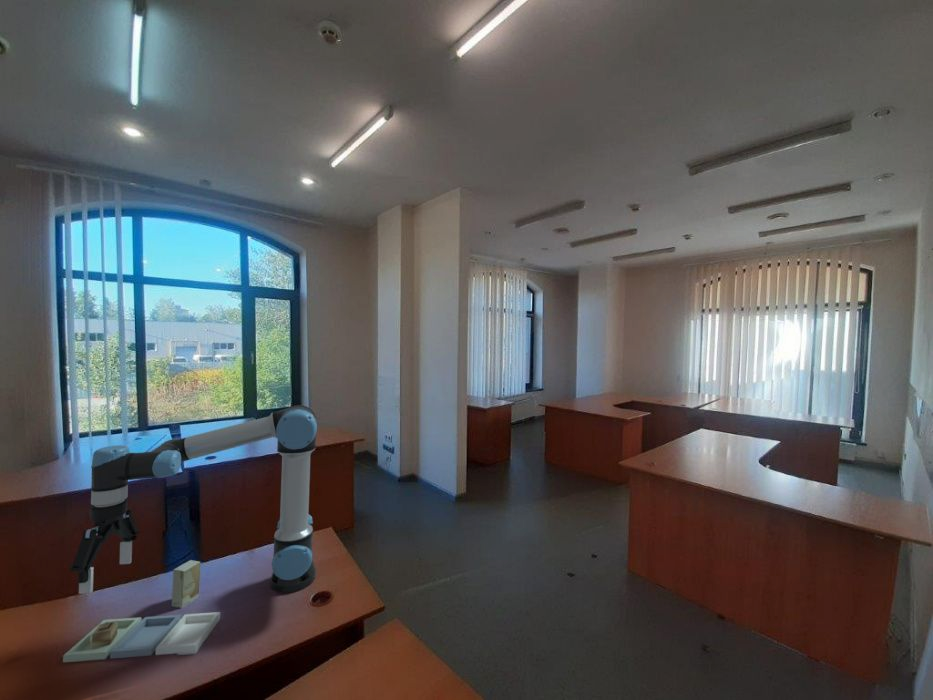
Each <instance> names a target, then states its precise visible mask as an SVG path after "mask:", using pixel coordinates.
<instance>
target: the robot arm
mask: <svg viewBox="0 0 933 700" xmlns="http://www.w3.org/2000/svg"><path fill="white" fill-rule="evenodd" d="M317 431H318V424H317V416H316V414H315V412H314V411H313V409H311V408H310V407H308V406H305V405H302V404H301V405H300V404H299V405H293V406H290V407H287V408H284V409H281V410H278V411H273V412H271V413H270V414H269V416H264V417H260V418H257V419H253V420H249V421H245V422H241V423H238V424H237V423H236V424H233V425H229V426H226V427H223V428H222V427H221V428H218V429H214V430H209V431H206V432H202V433H201V432H200V433H198V434H193V435H190V436H186V437H182V438H172V439H169V440H165V441H164V442H163V443H161V444H160V445H158V446H157V447H155V448H154V449H152V450H151V451H145V452H144V451H143V452H131V451H130V448H129V446H127V445H110V446H103V447H101V448H98V449H95V451H94V452H93V454H92V462H91V466H90V467H91V468H90V469H91V486H90V487H91V489H90V490H91V492H90V496H91V497H90V504H91V506H90V507H89V508H90V510H89V512H90V513H89V519H90V520H91V521H93V523H94V524H93V527H92V528H89V529H84V530H83V531H82V536H81V541H80V542H79V545H78V548H77V551H76V554H75V557H74V559H73V561H72V564H71V567H70V570H69V571H70V572H71V573H77V572H78V573H77V574H78V577H77V578H78V580H77V582H78V594H79V595H85V594H91V593H93V592H94V591H93V590H94V571H95V570H94V566H93V563H94V561H95V559H96V557H97V555H98V554H99V552H100V550H101V548H102V546H103V543H105V542H106V541H107V540H108V538H110V537H111V535H114V534H116V535H117V536H118V537H119V538H120V539H121V540H122V541H121V542H119V565H130V564H131V563H132V558H133V557H132V556H133V555H132V554H133V541H136V540H137V539H138V535H139V533H140V531H139V528H138V526H137V524H136V522H135V519H134V517H133V513H132V509H130V508H129V509H128V500H127V498H128V496H129V495H128V494H129V488H128V487H129V481H130V480H131V481H133V480H142V479H143V480H144V479H146V480H147V479H162V478H167V477H173V476H175V475H177V474H178V473H179V470H180V469H181V465H182V462H188V461H190V460H193V459H197V458H201V457H205V456H208V455H213V454H215V453H216V454H217V453H219V452H220V453H221V452H223V451H227V450H230V449H234V448H237V447H241V446H242V447H243V446H245V445H249V444H252V443H256V442H260V441H264V440H267V439H272V438H275V439H276V440H277V446H276V448H277V449H276V450H277V453H278V454H279V455H281V481H280V482H281V483H280V510H279V511H280V512H279V513H280V514H279V515H280V516H279V520H278V522H277V526H276V529H277V530H276V531H274V532H275V533H274V535H273V537H274V538H273V557H272V561H271V568H272V573H271V577H270V581H269V583H270V585H269V586H270V588H271V590H273V592H276V593H280V594H281V593H282V594H286V593H288V594H289V593H294V592H299V591H300V590H303V589H305V588H307V587H308V586H310V585H311V584H312V583H314V581H313V580H315V579H316V577H317V568H316V566H315V562H314V559H313V556H314V554H313V537H314V536H313V533H314V532H313V531H314V528H313V523H314V522H313V517H312V515H310V513H309V507H310V481H311V455H312V453H313V452H314V451H315V450H316V446H317V444H316V443H317V441H316V440H317ZM315 576H316V577H315Z"/></svg>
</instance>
